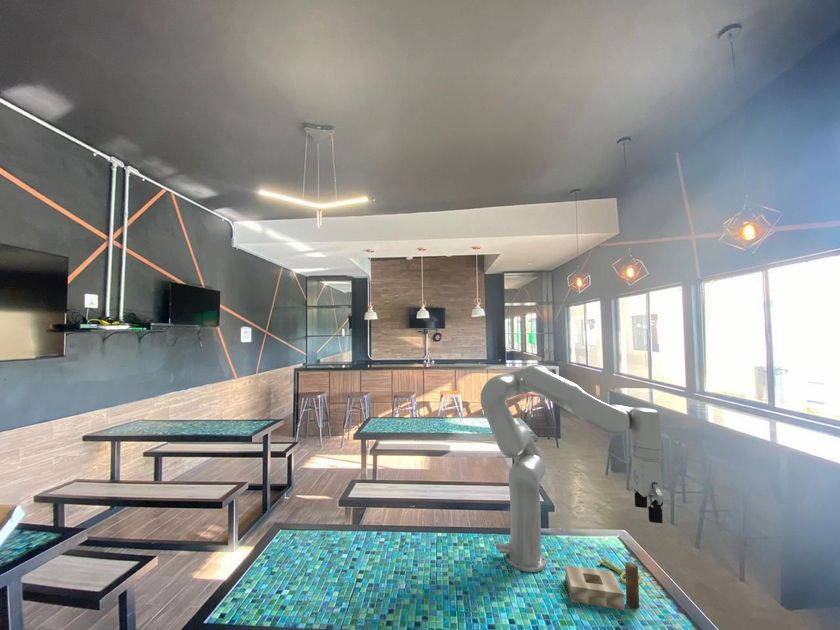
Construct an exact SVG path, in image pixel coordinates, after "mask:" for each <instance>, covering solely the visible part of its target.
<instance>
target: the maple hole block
mask: <svg viewBox="0 0 840 630" xmlns="http://www.w3.org/2000/svg"><path fill="white" fill-rule="evenodd" d="M564 568H565V570H564V572H565V577H564V578H565V582H566V586H567V590H568V593H569V594H568V595H569V598H570V600H571V602H572V603H576V604H583V605H590V606H595V607H601V608H602V607H603V608H608V609H615V610H621V611H624V610H625V594H624V591H623V590H622V588H621V586H620V584H619V582H618V580H617V577H616V576H615V573H614V572H613V571H609V570H603V569H602V570H601V569H596V568H589V567H587V568H586V567H580V566H572V565H567V564H566V565H564Z"/></svg>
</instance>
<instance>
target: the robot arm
mask: <svg viewBox="0 0 840 630" xmlns="http://www.w3.org/2000/svg"><path fill="white" fill-rule="evenodd" d="M531 392H532V393H534V394H536V395H538V396H540V397H542V398H543V399H545V400H548V401H550V402H551V403H554V404H556V405H558V406H559V407H562V408H563V409H564V410H566V411H567V412H569V413H570V414H572V415H575V416H576V417H578V418H579V419H581V420H582V421H584V422H585V423H587V424H589V425H591V426H593V427H594V428H596V429H599V430H601V431H603V432H605V433H607V434H609V435H613V436H618V435H620V436H621V435H623V434H626V432H627V431H628V430H629V431H630V456H631V465H630V466H631V468H630V485H631V487H633V490H634V506H635V507H636V508H642V509H644V508H645V509H648V521H649V522H650V523H653V524H654V523H655V524H663V522H664V521H663V506H664V503H663V502H664V495H663V480H662V471H661V469H662V468H661V461H663V460H662V459H663V457H662V432H661V429H662V428H661V424H662V423H661V415H660V411H658V410H656V409H654V408H648V407H630V406H625V405H621V404H616V403H615V404H608V403H606V402H603V401H601V400H600V399H597V398H595V397H594V396H592V395H591V394H588V392H586V391H585V390H583V389H582V388H581V387H580V386H579V385H578V384H576V383H575V382H573V381H570V380H569V379H566V378H564V377H562V376H559V375H557V374H555V373H553V372H551V371H550V370H549V369H548V368H547V367H546V366H545V365H542V364H532V365H531V364H530V365H529V366H527V367H525V368H521V369H518V370H515V371H512V372H508V373H503V374H498V375H495V376H493V377H491V378H490V379H488V380H487V382H485V384H484V386H483V387H482V389H481V392H480V405H481V408H482V411H483V413H484V415H485V418H486V420H487V422H488V424H489V428H490V430H491V432H492V434H493V438H494V439H495V442H496V444H497V446H498V448H499V450H500V452H501V453H502V454H503V456H505V457H507V458H510V459H511V458H513V461H514V463H512V465H511V466H510V469H509V470H508V471H509V472H508V476H507V477H508V478H507V480H508V487H509V505H510V507H509V509H510V513H509V516H510V517H509V519H510V521H509V522H510V526H509V527H510V532H509V534H510V537H509V541H508V542H506V543H502V542H496V550H499V553H500V554H505V560H506V562H507V563H508V564H509V566H510V567H512V568H513V569H516V570H519V571H521V572H527V573H537V572H541V571H542V570H544V569H546V566H547V559H546V557H545V556H544V555H543V553H542V533H541V532H542V526H541V525H542V521H541V495H540V483H541V481H542V479H543V478H544V475H545V472H546V468H545V467H546V465H545V462H544V461H543V458H542V456H541V454H540V451H539V449H538V447H537V445H536V443H535V440H534V438H533V436H532V434H531V433H530V431H529V430H528V429H527V427H525V426H523V425H522V424H519V423H516V421H515V419H514V417H513V413H512V412H511V410H510V408H509V407H508V406H507V403H506V401H507V399H508V400H509V399H510V398H513V397H517V396H520V395H523V394H527V393H531ZM648 503H649V505H648Z"/></svg>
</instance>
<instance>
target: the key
mask: <svg viewBox="0 0 840 630" xmlns="http://www.w3.org/2000/svg"><path fill="white" fill-rule="evenodd" d="M597 563H599V564H600V565H603V564H605V565H606V566H607V567H609V568H610V569H612V570H613V571H615V572H616V573H617V574H618V575H619V580H620V583H622V584H623V585H625V586H626V579H625V578H626V573H625V571H624V570H623V569H622V568H619V567H617V566H616V565H614V564H613V563H611V562H610V561H608V560H607V559H605V558H604V557H601V558H600V559H599V560H598V562H597ZM638 578H639V579H638V585H639V586H640V585H641V584H642V583H643V577H642V576H641V575H640V574H639V573H638Z"/></svg>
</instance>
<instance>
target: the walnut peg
mask: <svg viewBox="0 0 840 630" xmlns="http://www.w3.org/2000/svg"><path fill="white" fill-rule="evenodd" d="M624 565H625V567H624V572H625V573H626V577H625V581H626V585H625V595H626V596H625V600H626V601H625V602H626V605H627V606H628V607H629V608H632V609H639V608H640V590H639V589H640V588H639V586H640V585H638V580H639V579H638V574H639V566H638V565H637V564H636V563H634V562H631V561H627V562H625V564H624Z"/></svg>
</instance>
